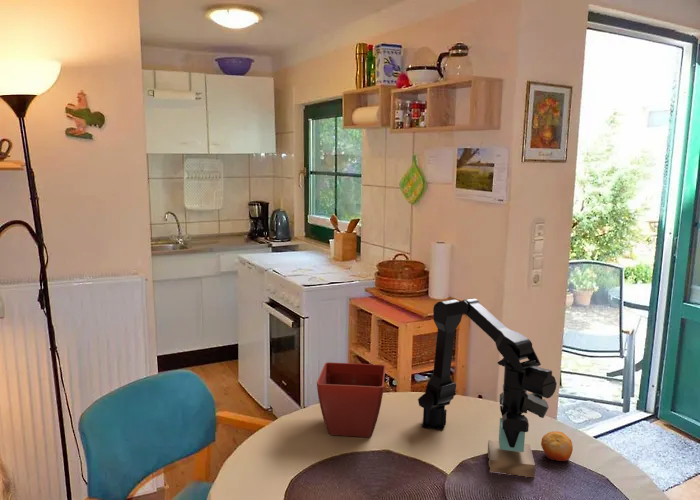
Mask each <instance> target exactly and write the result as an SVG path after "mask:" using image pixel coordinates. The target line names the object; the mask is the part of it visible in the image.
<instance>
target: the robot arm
mask: <svg viewBox="0 0 700 500" xmlns="http://www.w3.org/2000/svg"><path fill="white" fill-rule="evenodd" d="M432 311H433V313H432V314H433V322H434V324H435V326H436V328H437V334H436V343H435V353H434V362H433V363H434V364H433V365H434V366H433V371H432V372H433V374H432V375H431V376H430V378H429V380H428V381H427V384H426V389H425V391H424V393H423V394H422V395H421V396H419V398H418V399H417V401H418V406H419V407H421V408H422V411H423V414H422V416H423V417H422V424H421V427H422V428H425V429H434V430H442V431H443V430H445V427H446V425H447V412H448V411H447V409H445V408H446V406H449V405H450V404H451V401H452V400H453V399H454V397H455V396H457V394H456V388H457V383H456V382H454V381H453V380H452V377H451V368H452V360H453V359H452V358H453V350H454V341H455V332H456V329H457V328H458V327H459V325H460V323H461V322H462V318H463V315H466V317H468V318H469V319H470V320H471V321H472V322H473V323H475V324H476V326H477V327H479V328H480V329H481V330H482V331H483V332H484V333H485V334H486V335H487V336H488V337H489V338H491V340H492V341H494V343H495V346H496V349H497V351H498V352H499V354H500V355H501V356H502V357H503V358H502V359H501V360H499V361H497V365H499V366H502V367H504V371H503V384H502V392H501V393H500V394H499V398H498V399H499V401H498V402H499V405H500V406H499V410H500V413H501V418H502V429H504V432H505V435H506V437H507V440H508V443H509V446H510V447H511V448H514V447H515V444H516V441H517V438H518V435H519V433H520V432H525V433H527V432H529V428H530V427H529V426H530V424H529V419H528V418H527V416H526V415H525V414H528V412H530V413H532V414H534V415H537V416H538V417H539V418H540V419H541V418H542V419H543V418H544V417H545V416H546V413H547V412H548V410H549V407H550V406H549V404H548V401H547V400H546V399H549V398H551V397H553V395H554V393H555V392H556V389H557V381H556V378H555V376H554V375H553V371H552V370H551V369H549V368H548V369H547V368H543V367H540V366H541V362H540V360H539V357H538V356H537V354H536V352H535V349H534V347H533V343H532V341H531V340H530V339H529V338H528V337H527V336H525V335H523V334H522V333H520V332H518V331H516V330H512V329H510V328H508V327H506V325H504V324H503V323H502V322H501V321H500V320H499V319H498V318H497V317H496V316H495V315H493V314H492V313H491V312H490V311H489V310H488V309H487V308H485V306H483V305H482V304H481V303H480V301H479V300H478V299H477V298H474V297H473V298H466V299H463V300H461V301H459V300H457V299H456V298H455V299H448V300H442V301H441V300H440V301H437V302H436V303H435V304H434V305H433V310H432ZM526 359H528V360H526ZM523 360H524V361H523ZM521 361H522V362H521ZM528 392H529V393H528ZM543 398H544V399H543Z"/></svg>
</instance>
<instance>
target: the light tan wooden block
mask: <svg viewBox="0 0 700 500" xmlns="http://www.w3.org/2000/svg"><path fill="white" fill-rule="evenodd" d="M488 458H489V461H488V468H489V467H490V470H489V472H490V471H493V472H500V473H506V474H511V475H520V476H527V477H534V478H535V473H536V464H535V460H534V455H533V451H532V447H531V445H530V444H527V443H524V452H518V451H510V450H502V449H500V447H499V440H489V439H488V441H487V459H488ZM527 477H526V478H527Z"/></svg>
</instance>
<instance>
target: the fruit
mask: <svg viewBox="0 0 700 500" xmlns="http://www.w3.org/2000/svg"><path fill="white" fill-rule="evenodd" d="M540 445H541V449H542V451H543V452H544V454H545V457H546V458H547V459H548V458H549V459H548V460H550V459H551V461H554V460H556V462H567V461H569V460H570V459H571V456H572V453H573V449H574V447H573V446H574V445H573V442H572V439H571V438H570V437H569V436H568V435H567V434H565V433H564V432H562V431H556V430H555V431H550V432H549V431H548V432H547V433H546V434H544V435H543V436H542V438H541V442H540Z"/></svg>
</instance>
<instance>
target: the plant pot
mask: <svg viewBox="0 0 700 500" xmlns="http://www.w3.org/2000/svg"><path fill="white" fill-rule="evenodd" d="M386 367H387V366H386V365H384V364H376V363H375V364H373V363H354V362H351V363H350V362H325V363H324V365H323V366H322V370H321V373H320V375H319V376H318V379H317V381H316V389H317V395H318V403H319V407H320V410H321V411H320V412H321V415H322V418H323V421H324V425H325V428H326V430H327V434H328V435H330V436H331V435H332V436H343V437H344V436H346V437H358V438H359V437H360V438H370V437H372V436H373V433H374V431H375V428H376V425H377V422H378V418H379V415H380V411H381V410H380V409H381V405H382V400H383V395H384V387H385V374H386Z"/></svg>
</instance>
